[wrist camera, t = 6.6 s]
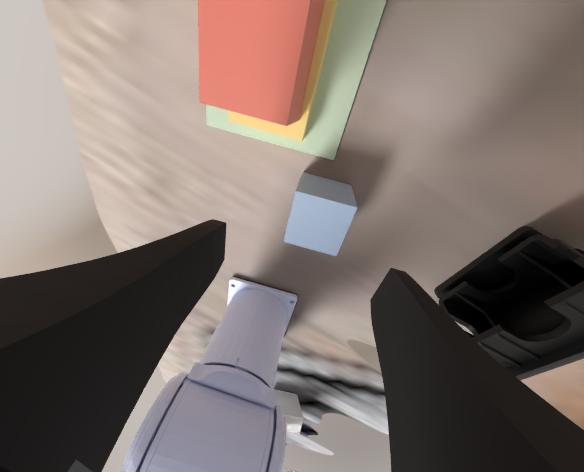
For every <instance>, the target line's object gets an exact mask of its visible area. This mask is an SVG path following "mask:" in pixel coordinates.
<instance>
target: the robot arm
mask: <svg viewBox="0 0 584 472" xmlns="http://www.w3.org/2000/svg"><path fill="white" fill-rule="evenodd" d="M225 238H226V223H225V222H221V221H217V220H214V219H212V220H209V221H206V222H203V223H201V224H198V225H196V226H193V227H191V228H188V229H186V230H183V231H181V232H178V233H176V234H173V235H171V236H168V237H165V238H162V239H160V240H157V241H154V242H151V243H148V244H145V245H142V246H140V247H137V248H133V249H130V250H127V251H124V252H120V253H117V254H113V255H110V256H106V257H102V258H99V259H94V260H91V261H86V262H82V263H77V264H73V265H68V266H64V267H59V268H54V269H50V270H46V271H41V272H35V273H30V274H25V275H19V276H13V277H7V278H1V279H0V472H101V471H102V469H103V467H104V465H105V463H106V461H107V459H108V457H109V455H110V453H111V451H112V449H113V447H114V445H115V444H116V442H117V440H118V437H119V436H120V434H121V432H122V430H123V428H124V426H125V423H126V422H127V420H128V418H129V416H130V414H131V412H132V411H133V409H134V407H135V405H136V403H137V401H138V399H139V397H140V395H141V394H142V392H143V389H144V388H145V386H146V384H147V382H148V381H149V379H150V377H151V375H152V374H153V372H154V370H155V368H156V366H157V365H158V363H159V361H160V359H161V358H162V356H163V354H164V352H165V351H166V349H167V347H168V346H169V344H170V342H171V340H172V339H173V337H174V335H175V334H176V332H177V331H178V329H179V328H180V326H181V324H182V323H183V322H184V320H185V319H186V317H187V316H188V315H189V313H190V312H191V310H192V309H193V308H194V306H195V305H196V303H197V302H198V301H199V299H200V298H201V297H202V295H203V294H204V292H205V291H206V290H207V288H208V287H209V285H210V284H211V282H212V281H213V280H214V278H215V276H216V274H217V273H218V271H219V269H220V267H221V265H222V263H223V261H224V255H225ZM296 302H297V296H296V295H295V294H292V293H288V292H285V291H281V290H277V289H274V288H270V287H267V286H263V285H260V284H256V283H253V282H249V281H246V280H242V279H239V278H235V277H232V278H231V279H230V281H229V292H228V302H227V308H226V310H225V312H224V314H223V316H222V318H221V320H220V322H219V324H218V326H217V328H216V330H215V332H214V334H213V336H212V338H211V340H210V342H209V344H208V346H207V347H206V349H205V351H204V353H203V355H202V357H201V359H200V361H199V363H195V364H194V366H193V368H192V370H191V372H190V374H187V373H184V372H182V373H180V374H179V375H178V376H175V377H174V378H172V379H171V380H169V382H168V383H167V384H166V385H165V387H164V388H163V390H162V391H161V393H160V394H159V396H158V397H157V399H156V400H155V402H154V404H153V406H152V407H151V409H150V410H149V412H148V414H147V416H146V417H145V419H144V421H143V423H142V425H141V427H140V428H139V430H138V432H137V434H136V436H135V438H134V440H133V442H132V444H131V446H130V449H129V451H128V453H127V455H126V458H125V461H124V464H123V469H122V471H121V472H281V471H282V466H283V460H284V454H285V445H286V422H285V418H284V416H283V411H282V409H281V407H280V406H278V405H275V404H276V398H277V393H278V392H277V391H275V390H273V385H274V380H275V375H276V370H277V366H278V361H279V356H280V351H281V346H282V341H283V337H284V334H285V332H286V329H287V326H288V324H289V321H290V318H291V315H292V313H293V310H294V307H295V304H296ZM371 318H372V326H373V332H374V337H375V342H376V347H377V352H378V357H379V362H380V367H381V372H382V377H383V383H384V389H385V397H386V407H387V416H388V427H389V440H390V453H391V471H392V472H584V430H583V429H581V428H580V427H579V426H577V425H576V424H575V423H573V422H572V421H571V420H569V419H568V418H567V417H566V416H564V415H563V414H562V413H560V412H559V411H558V410H557V409H555V408H554V407H553V406H551V405H550V404H549V403H548V402H546V401H545V400H544V399H543V398H541V397H540V396H539V395H537V394H536V393H535V392H534V391H532V390H531V389H530V388H529V387H527V386H526V385H525V384H524V383H523V382H521V381H520V380H519V379H518V378H517V377H515V376H514V375H513V374H512V373H511V372H510V371H508V370H507V369H506V368H505V367H504V366H503V365H501V364H500V363H499V362H498V361H497V360H496V359H494V358H493V357H492V356H491V355H490V354H489V353H488V352H486V351H485V350H484V349H483V348H482V347H481V346H480V345H479V344H478V343H477V342H476V341H475V340H474V339H472V338H471V337H470V336H469V335H468V334H467V333H466V332H465V331H464V330H463V329H462V328H461V327H460V326H459V325H458V324H457V323H456V322H455V321H454V320H453V319H452V318H451V317H450V316H449V315H448V314H447V313H446V312H445V311H444V310H443V309H442V308H441V307H440V306H439V305H438V304H437V303H436V302H435V301H434V300H433V299H432V298H431V297H430V296H429V295H428V294H427V293H426V292H425V291H424V289H423V288H422V287H421V286H420V285H419V284H418V283H417V282H416V281H415V280H414V279H413V278H411V277H410V276H409V275H408V274H407V273H406V272H404V271H400V270H397V269H393V268H391V269H390V270H389V272H388V273H387V275H386V276H385V278H384V280H383V281H382V283H381V284H380V286H379V287H378V289H377V291H376V292H375V294H374V295H373V297H372V298H371ZM188 375H189V376H188Z"/></svg>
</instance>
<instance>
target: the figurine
mask: <svg viewBox="0 0 584 472" xmlns="http://www.w3.org/2000/svg"><path fill="white" fill-rule="evenodd" d="M273 390H275V389H273ZM275 391H277V392H278V393H277V398H276V404H275V405H278V406H280V407H281V409H282V411H283V416H284V418H285V422H286V431H288V432H292V433H297V434H299V433H300V430H301V426H302V423H303V419H304V418H303V415H302V411H301V407H300V404H299V400H298V397H297V394H294V393H289V392H284V391H280V390H275ZM281 472H297V471H293V470H288V469H284V468H283V467H282V471H281Z"/></svg>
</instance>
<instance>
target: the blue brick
mask: <svg viewBox="0 0 584 472" xmlns="http://www.w3.org/2000/svg"><path fill="white" fill-rule="evenodd" d="M356 210H357V204H356V200H355V197H354V193H353V189H352V185H349V184H345V183H342V182H338V181H335V180H331V179H327V178H324V177H320V176H316V175H313V174H309V173H305V172H303V174H302V176H301V179H300V181H299V184H298V186H297V189H296V192H295V196H294V200H293V204H292V208H291V212H290V216H289V220H288V224H287V228H286V232H285V237H284V241H283V242H286V243H289V244H293V245H297V246H300V247H304V248H308V249H311V250H315V251H318V252H322V253H326V254H329V255H333V256H337V254H338V251H339V249H340V247H341V244H342V242H343V240H344V238H345V235H346V233H347V231H348V228H349V226H350V224H351V222H352V219H353V217H354V215H355V212H356Z"/></svg>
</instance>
